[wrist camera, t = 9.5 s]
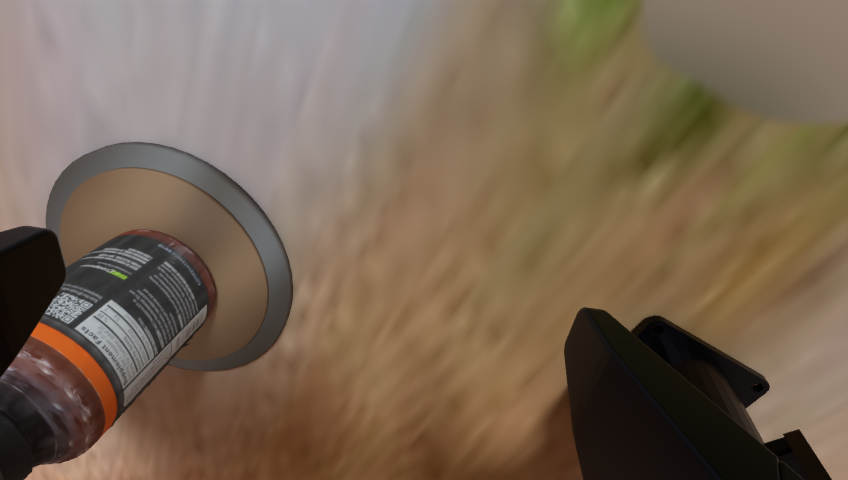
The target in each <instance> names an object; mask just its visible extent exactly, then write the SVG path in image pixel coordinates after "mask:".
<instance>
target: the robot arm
mask: <svg viewBox="0 0 848 480" xmlns="http://www.w3.org/2000/svg"><path fill="white" fill-rule="evenodd" d="M65 278H66V267H65V264H64V260H63V256H62V252H61V248H60V244H59V241H58V237H57V235H56V234H55V233H54V232H53V231H52V230H50V229H46V228H39V227H32V226H21V227H17V228H14V229H10V230H6V231H3V232H0V378H1V377H2V375H3V374H4V373H5V372H6V370H7V369H8V368H9V366H10V365H11V364H12V362H13V361H14V360H15V358H16V357H17V355H18V354H19V352H20V351H21V349H22V348H23V347H24V345H25V343H26V342H27V340H28V339H29V337H30V336H31V334H32V332H33V331H34V329H35V328H36V326H37V325H38V323H39V321H40V320H41V318H42V317H43V315H44V314H45V312H46V310H47V309H48V307H49V306H50V304H51V303H52V301H53V300H54V298H55V296H56V295H57V293H58V292H59V290H60V289H61V287H62V285H63V283H64V281H65ZM657 325H659V326H661V327H660V328H658V329H652V328H653V327H654V326H657ZM564 356H565V366H566V375H567V384H568V393H569V403H570V412H571V421H572V428H573V434H574V439H575V444H576V449H577V453H578V458H579V462H580V466H581V471H582V475H583V480H832V479H831V478H830V476H829V475H828V473H827V471H826V470H825V468H824V467H823V465H822V464H821V462H820V461H819V459H818V458H817V456H816V454H815V453H814V451H813V450H812V448H811V447H810V445H809V444H808V442H807V441H806V439H805V437H804V436H803V434H802V433H801V431H800V430H799V429H798V430H795V431H791V432H788V433H785V434H783V435H784V437H783V438H780V439H777V440H773V441H770V442H767V443H764V442H763V440H762V438H761V436H760V434H759V432H758V431H757V429H756V427H755V425H754V423H753V421H752V420H751V418H750V416H749V414H748V412H747V410H746V408H747V407H748V406H750V405H751V404H752V403H753V402H755V401H756V400H757V399H759V398H760V397H761V396H763V395H764V394H765V393H766V392H767V391H768V390H769V387H770V386H769V383H768V382H767V380H766V379H765V377H764V376H763V375H761V374H760V373H758V372H756V371H754V370H753V369H751V368H749V367H748V366H746V365H744V364H742V363H741V362H739V361H737V360H735V359H734V358H732V357H730V356H729V355H727V354H725V353H723V352H722V351H720V350H718V349H717V348H715V347H713V346H711V345H710V344H708V343H706V342H705V341H703V340H701V339H699V338H698V337H696V336H694V335H693V334H691V333H689V332H687V331H686V330H684V329H682V328H680V327H679V326H677V325H675V324H674V323H672V322H670V321H668V320H667V319H665V318H663V317H661V316H651V317H649V318H648V319H646V320H645V321H644V322H643V323H642V324H641V325H640V326H639V327H638V328H637V329H636V330H635V331H634V332H633V333H631V332H630V331H629V330H628V329H626V328H625V327H624V326H623V325H622V324H621V323H619V322H618V321H617V320H616V319H615V318H613V317H612V316H611V315H610V314H609V313H608V312H606V311H604V310H600V309H593V308H586V307H584V308H582V309H580V310H579V312H578V313H577V315H576V318H575V320H574V323H573V325H572V327H571V330H570V332H569V335H568V337H567V339H566V342H565V348H564ZM758 383H759V384H758ZM754 384H758V385H756V386H752V385H754Z"/></svg>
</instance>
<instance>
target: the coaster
mask: <svg viewBox="0 0 848 480" xmlns="http://www.w3.org/2000/svg"><path fill="white" fill-rule="evenodd" d="M46 229H50V230H52V231H53V232H54V233H55V234H56V235H57V237H58V241H59V244H60V248H61V252H62V256H63V260H64V264H65V267H67V266H69V265H70V264H72V263H74V262H76V261H77V260H78V259H80V258H82V257H83V256H85V255H86V254H88V253H89V252H91V251H93V250H94V249H96V248H98V247H99V246H101V245H102V244H104V243H106V242H107V241H109V240H111V239H112V238H114V237H116V236H118V235H120V234H122V233H124V232H127V231H131V230H137V229H147V230H154V231H159V232H162V233H165V234H168V235H171V236H173V237H174V238H176V239H179V240H180V241H181V242H183V243H184V244H186V245H187V246H189V247H190V248H191V249H192V250H194V251H195V252H196V253H197V255H198V256H199V257H200V258H201V259H202V261H203V262H204V264H205V265H206V266H207V268H208V270H209V271H210V274H211V276H212V278H213V281H214V285H215V289H216V292H215V293H216V299H215V304H214V308H213V311H212V313H211V315H210V317H209V318H208V319H207V320H206V322H205V323H204V325H203V326H202V327H201V328H200V329H199V330H198V332H196V333H195V334H194V336H193V338H192V339H190V340H189V342H188V343H189V345H187V346H185V347H183V348H182V349H181V350H180V351H179V352H178V353H177V354H176V355H175V357H174V358H173V359H172V360H171V361H170V362H169V363H168V365H171V366H175V367H179V368H183V369H190V370H198V371H217V370H225V369H230V368H235V367H238V366H241V365H243V364H246V363H248V362H250V361H252V360H254V359H256V358H257V357H258V356H260V355H261V354H262V353H264V352H265V351H266V350H267V349H268V348H269V347H270V346H271V345H272V344H273V342H274V341H275V340H276V338H277V337H278V335H279V334H280V332H281V331H282V329H283V327H284V326H285V324H286V321H287V319H288V316H289V314H290V309H291V305H292V297H293V282H292V272H291V268H290V264H289V260H288V256H287V254H286V251H285V248H284V246H283V243H282V241H281V239H280V237H279V235H278V233H277V231H276V229H275V228H274V226H273V225H272V223H271V222H270V220H269V219H268V217H267V216H266V214H265V213H264V211H263V210H262V209H261V208H260V207H259V205H258V204H257V203H256V202H255V201H254V199H253V198H252V197H251V196H250V195H249V194H248V193H247V192H246V191H245V190H244V189H243V188H242V187H240V186H239V185H238V184H237V183H236V182H235V181H233V180H232V179H231V178H229V177H228V176H227V175H226V174H224V173H223V172H221V171H220V170H218V169H217V168H215V167H214V166H212V165H210V164H209V163H207V162H205V161H203V160H201V159H199V158H197V157H195V156H193V155H191V154H189V153H186V152H183V151H180V150H177V149H175V148H172V147H167V146H163V145H158V144H153V143H142V142H130V143H119V144H114V145H110V146H106V147H103V148H101V149H98V150H95V151H93V152H90V153H88V154H85V155H83V156H82V157H80V158H79V159H77V160H75V161H74V162H72V163H71V164H70V165H69V166H68V167H67V168H66V169H65V170H64V171H63V172H62V173H61V175H60V176H59V178H58V179H57V180H56V182H55V184H54V186H53V188H52V191H51V193H50V196H49V200H48V204H47V211H46ZM188 343H186V344H188Z"/></svg>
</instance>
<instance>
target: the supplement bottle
mask: <svg viewBox="0 0 848 480" xmlns="http://www.w3.org/2000/svg"><path fill="white" fill-rule="evenodd" d="M215 292H216V289H215V285H214V281H213V278H212V276H211V274H210V271H209V270H208V268H207V266H206V265H205V264H204V262H203V261H202V259H201V258H200V257H199V256H198V255H197V253H196V252H195V251H194V250H192V249H191V248H190V247H189V246H187V245H186V244H184V243H183V242H181V241H180V240H179V239H176V238H174V237H173V236H171V235H168V234H165V233H162V232H159V231H154V230H147V229H137V230H131V231H127V232H124V233H122V234H120V235H118V236H116V237H114V238H112V239H111V240H109V241H107V242H106V243H104V244H102V245H101V246H99V247H98V248H96V249H94V250H93V251H91V252H89V253H88V254H86V255H85V256H83V257H82V258H80V259H78V260H77V261H76V262H74V263H72V264H70V265H69V266H67V267H66V278H65V281H64V283H63V285H62V287H61V289H60V290H59V292H58V293H57V295H56V296H55V298H54V300H53V301H52V303H51V304H50V306H49V307H48V309H47V310H46V312H45V314H44V315H43V317H42V318H41V320H40V321H39V323H38V325H37V326H36V328H35V329H34V331H33V332H32V334H31V336H30V337H29V339H28V340H27V342H26V343H25V345H24V347H23V348H22V349H21V351H20V352H19V354H18V355H17V357H16V358H15V360H14V361H13V362H12V364H11V365H10V366H9V368H8V369H7V370H6V372H5V373H4V374H3V375H2V377H1V378H0V480H24V479H25V478H26V477H27V476H28V475H29V474H30V473H31V472H32V468H33V467H35V466H38V465H40V464H41V465H43V464H53V463H62V462H65V461H69V460H71V459H74V458H76V457H78V456H80V455H81V454H83V453H85V452H86V451H87V450H88V449H90V448H91V447H92V446H93V445H94V444H95V443H96V442H97V441H98V440H99V438H100V437H101V436H102V435H103V434H104V433H105V432H106V431H107V430H108V429H109V428H110V427H111V426H113V424H114V423H115V421H116V420H117V419H118V418H119V417H120V416H121V414H122V413H124V412H125V410H126V409H127V408H128V407H129V406H130V405H131V404H132V403H133V402H134V401H135V399H136V398H137V397H138V396H139V395H140V394H141V393H142V392H143V391H144V389H145V388H146V387H147V386H149V385H150V383H151V382H152V381H153V380H154V379H155V378H156V377H157V375H158V374H159V373H160V372H161V371H162V370H163V369H164V367H165V366H167V365H168V363H169V362H170V361H171V360H172V359H173V358H174V357H175V355H176V354H177V353H178V352H179V351H180V350H181V349H182V348H183V347H185V346H187V345H189V343H188V342H189V340H190V339H192V338H193V336H194V334H195V333H196V332H198V330H199V329H200V328H201V327H202V326H203V325H204V323H205V322H206V320H207V319H208V318H209V317H210V315H211V313H212V311H213V308H214V304H215V299H216V293H215ZM186 343H188V344H186Z"/></svg>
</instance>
